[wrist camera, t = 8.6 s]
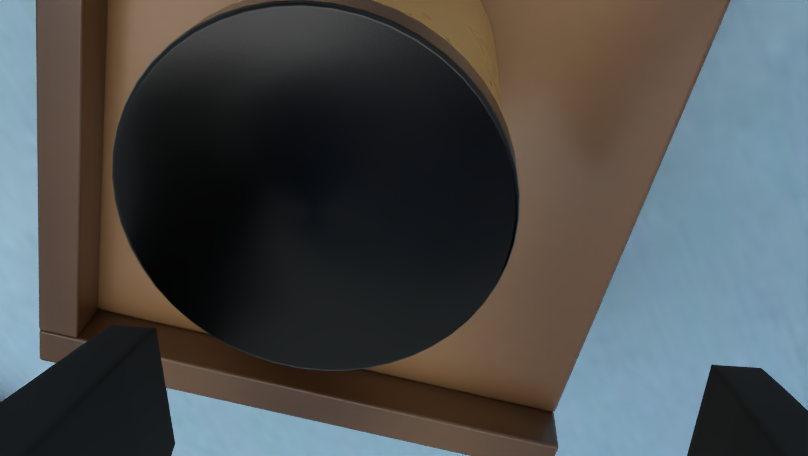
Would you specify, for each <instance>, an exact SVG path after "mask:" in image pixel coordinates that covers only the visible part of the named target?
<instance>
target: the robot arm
mask: <svg viewBox="0 0 808 456" xmlns="http://www.w3.org/2000/svg"><path fill="white" fill-rule="evenodd" d="M174 445H175V441H174V435H173V428H172V422H171V416H170V410H169V404H168V398H167V391H166V385H165V379H164V373H163V367H162V361H161V355H160V348H159V342H158V336H157V330H156V328H150V327H135V326H120V325H111V326H109V327H108V328H106V329H105V330H103V331H101V332H100V333H98V334H97V335H95V336H94V337H92V338H91V339H89V340H88V341H87V342H85V343H84V344H82V345H81V346H79V347H78V348H77V349H75V350H74V351H72V352H71V353H70V354H68V355H67V356H65V357H64V358H63V359H61V360H60V361H58V362H57V363H56V364H54V365H53V366H51V367H50V368H49V369H47V370H46V371H44V372H43V373H42V374H40V375H39V376H37V377H36V378H35V379H33V380H32V381H30V382H29V383H28V384H26V385H25V386H23V387H22V388H20V389H19V390H18V391H16V392H15V393H13V394H12V395H10V396H9V397H8V398H6V399H5V400H3V401H2V402H0V456H171V454H172V451H173V448H174ZM687 456H808V410H806V409H805V408H804V407H803V406H802V405H801V404H800V403H799V402H798V401H797V400H796V399H795V398H794V397H793V396H792V395H790V394H789V393H788V392H787V391H786V390H785V389H784V388H783V387H782V386H781V385H780V384H779V383H777V382H776V381H775V380H774V379H773V378H772V377H771V376H770V375H768V374H767V373H766V372H765V371H764V370H763V369H761V368H751V367H736V366H721V365H711V369H710V373H709V377H708V380H707V384H706V388H705V391H704V395H703V399H702V403H701V406H700V410H699V414H698V417H697V421H696V425H695V429H694V432H693V436H692V440H691V443H690V447H689V451H688V454H687Z"/></svg>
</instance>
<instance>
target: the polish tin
mask: <svg viewBox="0 0 808 456" xmlns="http://www.w3.org/2000/svg"><path fill="white" fill-rule="evenodd" d="M112 180H113V189H114V198H115V203H116V207H117V211H118V215H119V219H120V223H121V226H122V228H123V231H124V233H125V235H126V238H127V240H128V243H129V245H130V247H131V249H132V251H133V253H134V255H135V256H136V258H137V260H138V262H139V264H140V265H141V267H142V269H143V270H144V271H145V273H146V274H147V275H148V277H149V278H150V280H151V281H152V282H153V284H154V285H155V287H156V288H157V289H158V290H159V291H160V292H161V293H162V294H163V295H164V296H165V298H166V299H167V300H168V301H169V302H170V303H171V304H172V305H173V306H174V307H175V308H176V309H178V310H179V311H180V312H181V313H182V314H183V315H184V316H185V317H187V318H188V319H189V320H190V321H191V322H193V323H194V324H196V325H197V326H199V327H200V328H201V329H203V330H204V331H206V332H207V333H208V334H210V335H212V336H213V337H215V338H217V339H219V340H220V341H222V342H224V343H226V344H228V345H229V346H231V347H234V348H236V349H238V350H240V351H243V352H245V353H247V354H250V355H252V356H255V357H258V358H261V359H264V360H267V361H270V362H273V363H277V364H282V365H287V366H291V367H296V368H303V369H312V370H327V371H346V370H356V369H366V368H371V367H376V366H381V365H386V364H390V363H393V362H396V361H399V360H402V359H405V358H408V357H411V356H413V355H416V354H418V353H420V352H422V351H424V350H426V349H428V348H430V347H432V346H434V345H436V344H437V343H439V342H440V341H442V340H443V339H445V338H447V337H448V336H450V335H451V334H453V333H454V332H455V331H456V330H457V329H459V328H460V327H461V326H462V325H463V324H465V323H466V322H467V321H468V320H469V319H470V318H471V317H472V316H473V315H474V314H475V313H476V312H477V310H478V309H479V308H480V307H481V306H482V305H483V304H484V303H485V302H486V300H487V299H488V297H489V296H490V294H491V293H492V291H493V290H494V289H495V287H496V286H497V284H498V282H499V280H500V278H501V276H502V274H503V272H504V270H505V268H506V266H507V264H508V262H509V259H510V256H511V253H512V250H513V247H514V244H515V240H516V234H517V228H518V222H519V208H520V191H519V183H518V175H517V167H516V159H515V151H514V148H513V144H512V140H511V137H510V133H509V129H508V126H507V124H506V122H505V119H504V117H503V115H502V106H501V96H500V87H499V77H498V67H497V58H496V49H495V42H494V36H493V32H492V28H491V25H490V21H489V19H488V16H487V14H486V12H485V9H484V7H483V5H482V3H481V1H480V0H239V1H237V2H236V3H234V4H231V5H229V6H227V7H225V8H223V9H221V10H219V11H217V12H215V13H213V14H211V15H209V16H207V17H205V18H204V19H203V20H201V21H200V22H198V23H197V24H195V25H194V26H193V27H191V28H190V29H188V30H187V31H186V32H184V33H183V34H182V35H181V36H179V37H178V38H177V39H175V40H174V41H173V42H172V43H170V44H169V45H168V46H167V47H166V48H165V49H164V50H163V51H162V52H161V53H160V54H159V55H158V56H157V57H156V58H155V59H154V60H153V61H152V62H151V63H150V65H149V66H148V67H147V69H146V70H145V71H144V73H143V74H142V75H141V77H140V78H139V79H138V81H137V82H136V84H135V86H134V88H133V90H132V91H131V93H130V95H129V97H128V99H127V101H126V103H125V105H124V108H123V111H122V114H121V117H120V120H119V123H118V126H117V130H116V135H115V141H114V147H113V160H112Z"/></svg>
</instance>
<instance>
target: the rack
mask: <svg viewBox="0 0 808 456" xmlns="http://www.w3.org/2000/svg"><path fill="white" fill-rule="evenodd" d="M237 1H239V0H36V56H37V148H38V241H39V328H40V329H41V330H40V359H42V360H45V361H50V362H54V363H57V362H58V361H60V360H61V359H63V358H64V357H65V356H67V355H68V354H70V353H71V352H72V351H74V350H75V349H77V348H78V347H79V346H81V345H82V344H84V343H85V342H87V341H88V340H89V339H91V338H92V337H94V336H95V335H97V334H98V333H100V332H101V331H103V330H105V329H106V328H108V327H109V326H111V325H120V326H135V327H150V328H156V330H157V336H158V342H159V348H160V355H161V361H162V367H163V373H164V379H165V385H166V388H171V389H175V390H179V391H184V392H188V393H193V394H197V395H202V396H206V397H211V398H215V399H220V400H224V401H229V402H233V403H238V404H242V405H246V406H251V407H255V408H260V409H264V410H269V411H273V412H278V413H282V414H287V415H291V416H296V417H300V418H305V419H309V420H313V421H318V422H322V423H327V424H331V425H336V426H340V427H345V428H349V429H354V430H358V431H363V432H367V433H372V434H376V435H380V436H385V437H389V438H394V439H398V440H403V441H407V442H412V443H416V444H421V445H425V446H430V447H434V448H439V449H443V450H448V451H452V452H456V453H461V454H465V455H470V456H555V454H556V452H557V449H558V442H557V435H556V427H555V420H554V413H553V412H554V411H555V409H556V407H557V405H558V402H559V400H560V398H561V395H562V393H563V391H564V388H565V386H566V384H567V381H568V379H569V377H570V374H571V372H572V370H573V367H574V365H575V363H576V360H577V358H578V356H579V353H580V351H581V349H582V346H583V344H584V342H585V339H586V337H587V335H588V332H589V330H590V328H591V325H592V323H593V321H594V318H595V316H596V314H597V311H598V309H599V307H600V304H601V302H602V300H603V297H604V295H605V293H606V290H607V288H608V286H609V283H610V281H611V279H612V276H613V274H614V272H615V269H616V267H617V264H618V262H619V260H620V257H621V255H622V253H623V250H624V248H625V246H626V243H627V241H628V239H629V236H630V234H631V232H632V229H633V227H634V225H635V222H636V220H637V218H638V215H639V213H640V211H641V208H642V206H643V204H644V201H645V199H646V197H647V194H648V192H649V190H650V187H651V185H652V183H653V180H654V178H655V176H656V173H657V171H658V169H659V166H660V164H661V162H662V159H663V157H664V155H665V152H666V150H667V148H668V145H669V143H670V141H671V138H672V136H673V134H674V131H675V129H676V127H677V124H678V122H679V120H680V117H681V115H682V113H683V110H684V108H685V105H686V103H687V101H688V98H689V96H690V94H691V91H692V89H693V87H694V84H695V82H696V80H697V77H698V75H699V73H700V70H701V68H702V66H703V63H704V61H705V59H706V56H707V54H708V52H709V49H710V47H711V45H712V42H713V40H714V38H715V35H716V33H717V31H718V28H719V26H720V24H721V21H722V19H723V17H724V14H725V12H726V10H727V7H728V5H729V3H730V0H480V1H481V3H482V5H483V7H484V9H485V12H486V14H487V16H488V19H489V21H490V25H491V28H492V32H493V36H494V42H495V49H496V58H497V67H498V77H499V87H500V96H501V106H502V115H503V117H504V119H505V122H506V124H507V126H508V129H509V133H510V137H511V140H512V144H513V148H514V151H515V159H516V167H517V175H518V183H519V191H520V208H519V222H518V228H517V234H516V240H515V244H514V247H513V250H512V253H511V256H510V259H509V262H508V264H507V266H506V268H505V270H504V272H503V274H502V276H501V278H500V280H499V282H498V284H497V286H496V287H495V289H494V290H493V291H492V293H491V294H490V296H489V297H488V299H487V300H486V302H485V303H484V304H483V305H482V306H481V307H480V308H479V309H478V310H477V312H476V313H475V314H474V315H473V316H472V317H471V318H470V319H469V320H468V321H467V322H466V323H465V324H463V325H462V326H461V327H460V328H459V329H457V330H456V331H455V332H454V333H453V334H451V335H450V336H448V337H447V338H445V339H443V340H442V341H440V342H439V343H437V344H436V345H434V346H432V347H430V348H428V349H426V350H424V351H422V352H420V353H418V354H416V355H413V356H411V357H408V358H405V359H402V360H399V361H396V362H393V363H390V364H386V365H381V366H376V367H371V368H366V369H356V370H346V371H327V370H312V369H303V368H296V367H291V366H287V365H282V364H277V363H273V362H270V361H267V360H264V359H261V358H258V357H255V356H252V355H250V354H247V353H245V352H243V351H240V350H238V349H236V348H234V347H231V346H229V345H228V344H226V343H224V342H222V341H220V340H219V339H217V338H215V337H213V336H212V335H210V334H208V333H207V332H206V331H204V330H203V329H201V328H200V327H199V326H197V325H196V324H194V323H193V322H191V321H190V320H189V319H188V318H187V317H185V316H184V315H183V314H182V313H181V312H180V311H179V310H178V309H176V308H175V307H174V306H173V305H172V304H171V303H170V302H169V301H168V300H167V299H166V298H165V296H164V295H163V294H162V293H161V292H160V291H159V290H158V289H157V288H156V287H155V285H154V284H153V282H152V281H151V280H150V278H149V277H148V275H147V274H146V273H145V271H144V270H143V269H142V267H141V265H140V264H139V262H138V260H137V258H136V256H135V255H134V253H133V251H132V249H131V247H130V245H129V243H128V240H127V238H126V235H125V233H124V231H123V228H122V226H121V223H120V219H119V215H118V211H117V207H116V203H115V198H114V189H113V180H112V160H113V147H114V141H115V135H116V130H117V126H118V123H119V120H120V117H121V114H122V111H123V108H124V105H125V103H126V101H127V99H128V97H129V95H130V93H131V91H132V90H133V88H134V86H135V84H136V82H137V81H138V79H139V78H140V77H141V75H142V74H143V73H144V71H145V70H146V69H147V67H148V66H149V65H150V63H151V62H152V61H153V60H154V59H155V58H156V57H157V56H158V55H159V54H160V53H161V52H162V51H163V50H164V49H165V48H166V47H167V46H168V45H169V44H170V43H172V42H173V41H174V40H175V39H177V38H178V37H179V36H181V35H182V34H183V33H184V32H186V31H187V30H188V29H190V28H191V27H193V26H194V25H195V24H197V23H198V22H200V21H201V20H203V19H204V18H205V17H207V16H209V15H211V14H213V13H215V12H217V11H219V10H221V9H223V8H225V7H227V6H229V5H231V4H234V3H236V2H237Z"/></svg>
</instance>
